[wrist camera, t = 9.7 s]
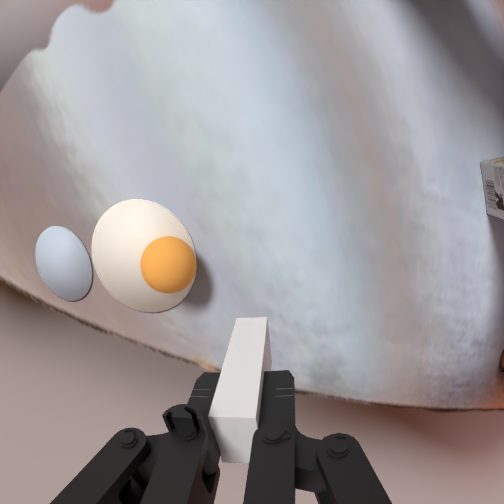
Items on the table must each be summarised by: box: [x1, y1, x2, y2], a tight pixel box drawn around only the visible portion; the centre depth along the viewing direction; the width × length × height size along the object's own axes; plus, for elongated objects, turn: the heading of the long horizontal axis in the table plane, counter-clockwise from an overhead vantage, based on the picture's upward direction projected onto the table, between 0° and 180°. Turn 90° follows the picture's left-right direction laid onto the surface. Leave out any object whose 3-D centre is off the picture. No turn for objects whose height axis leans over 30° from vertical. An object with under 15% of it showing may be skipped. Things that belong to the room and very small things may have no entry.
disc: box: [92, 199, 197, 312], centre depth 32 cm, size 13×13×1 cm
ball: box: [140, 236, 197, 293], centre depth 29 cm, size 6×6×6 cm
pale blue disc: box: [36, 226, 92, 301], centre depth 34 cm, size 10×10×1 cm
